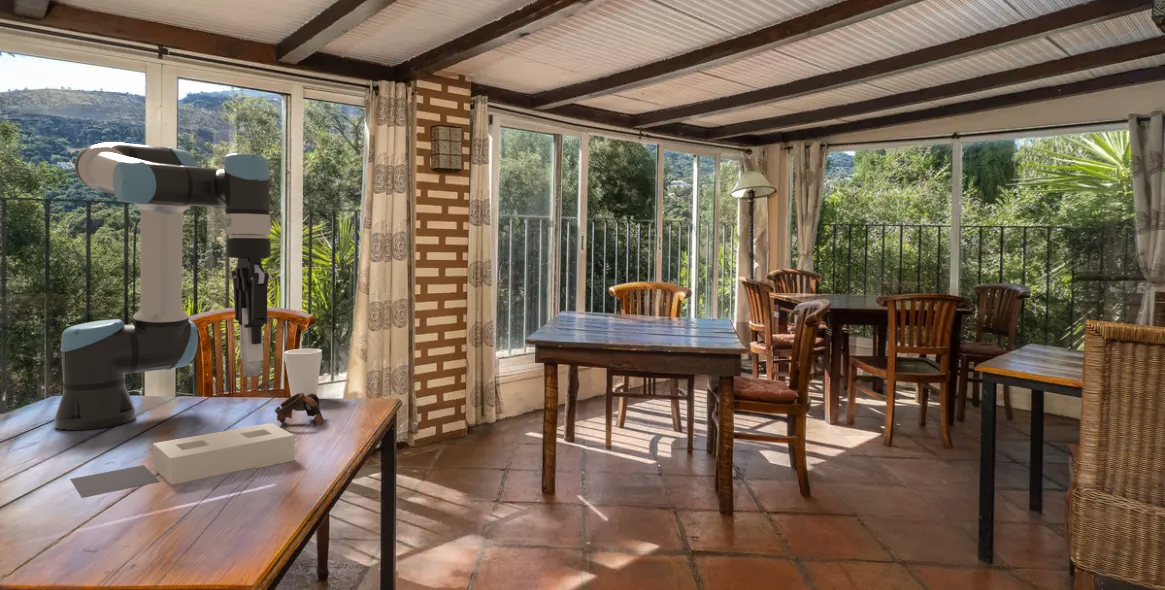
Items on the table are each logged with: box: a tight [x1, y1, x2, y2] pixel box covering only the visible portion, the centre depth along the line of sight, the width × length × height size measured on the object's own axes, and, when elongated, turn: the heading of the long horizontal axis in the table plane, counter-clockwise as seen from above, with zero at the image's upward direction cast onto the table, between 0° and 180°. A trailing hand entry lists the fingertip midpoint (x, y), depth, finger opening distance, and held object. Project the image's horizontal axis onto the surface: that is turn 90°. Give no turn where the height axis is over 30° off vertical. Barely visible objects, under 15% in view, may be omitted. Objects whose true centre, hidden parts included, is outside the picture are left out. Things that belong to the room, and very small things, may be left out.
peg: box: [242, 307, 262, 378], centre depth 129 cm, size 3×3×13 cm
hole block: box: [152, 422, 296, 486], centre depth 127 cm, size 12×21×5 cm, turn 135°
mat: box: [69, 464, 161, 499], centre depth 117 cm, size 12×11×1 cm
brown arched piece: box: [274, 393, 324, 426], centre depth 158 cm, size 12×10×8 cm
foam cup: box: [283, 348, 323, 397], centre depth 181 cm, size 10×9×13 cm
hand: (251, 359), depth 129 cm, fingers closed on peg, 3 cm apart
